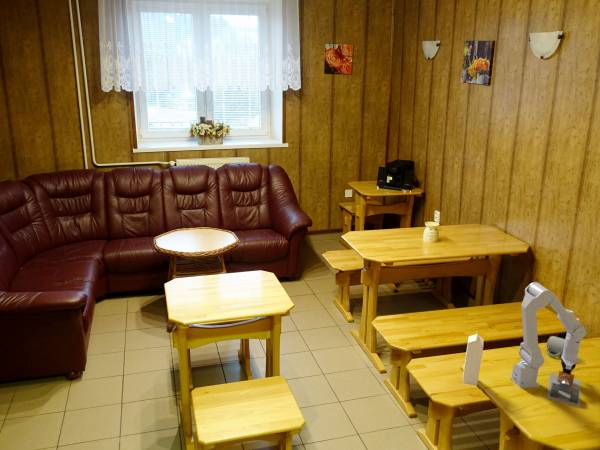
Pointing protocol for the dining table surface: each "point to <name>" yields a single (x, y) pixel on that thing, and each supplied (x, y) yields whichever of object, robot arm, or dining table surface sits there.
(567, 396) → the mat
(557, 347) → the ceramic mug
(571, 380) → the pin
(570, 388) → the hitch block
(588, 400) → the dining table surface
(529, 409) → the dining table surface
